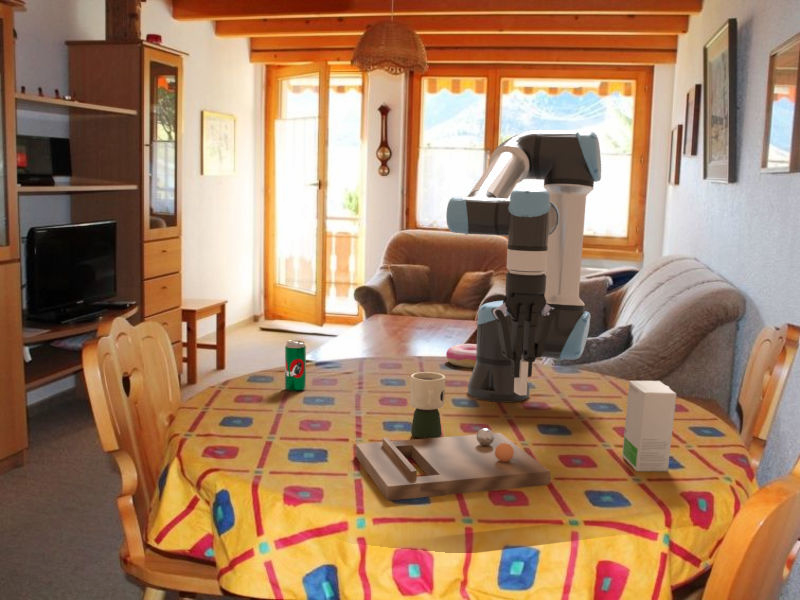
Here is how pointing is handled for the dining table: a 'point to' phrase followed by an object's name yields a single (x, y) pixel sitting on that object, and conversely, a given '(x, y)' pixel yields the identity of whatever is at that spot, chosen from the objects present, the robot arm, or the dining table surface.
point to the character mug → (427, 403)
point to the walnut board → (447, 466)
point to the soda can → (295, 365)
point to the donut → (462, 355)
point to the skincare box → (649, 425)
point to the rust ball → (504, 452)
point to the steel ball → (485, 436)
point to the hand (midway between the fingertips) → (520, 393)
